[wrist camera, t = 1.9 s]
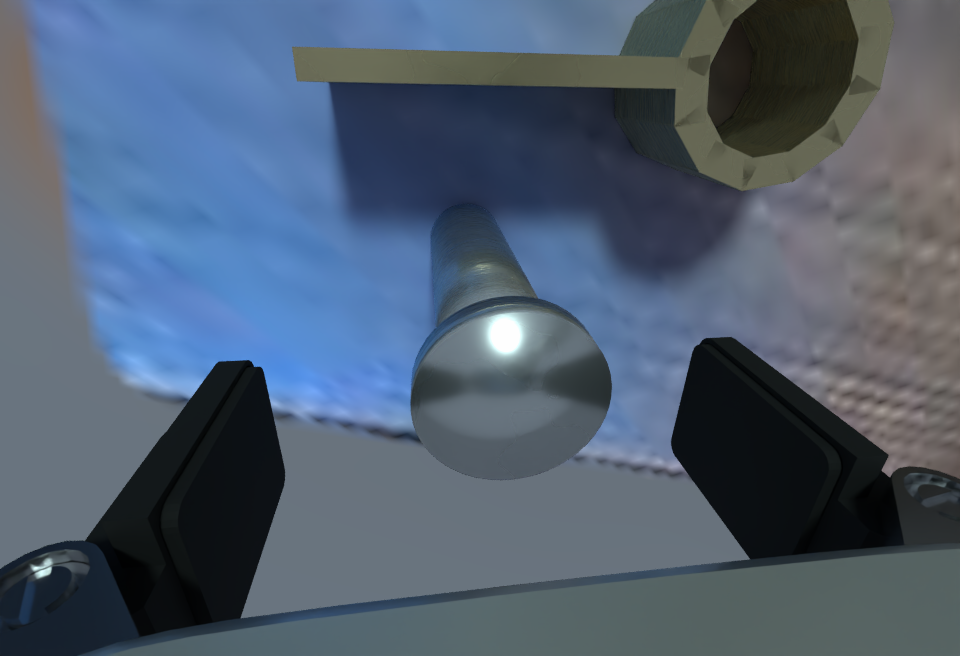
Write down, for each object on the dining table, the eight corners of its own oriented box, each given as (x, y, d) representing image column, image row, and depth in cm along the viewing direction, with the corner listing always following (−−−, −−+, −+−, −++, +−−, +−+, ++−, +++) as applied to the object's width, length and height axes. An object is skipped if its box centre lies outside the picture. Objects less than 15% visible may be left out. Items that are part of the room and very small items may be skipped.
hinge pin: (528, 209, 20) (647, 346, 10) (492, 295, 22) (560, 495, 11) (434, 173, 19) (450, 284, 8) (404, 267, 21) (385, 459, 10)
